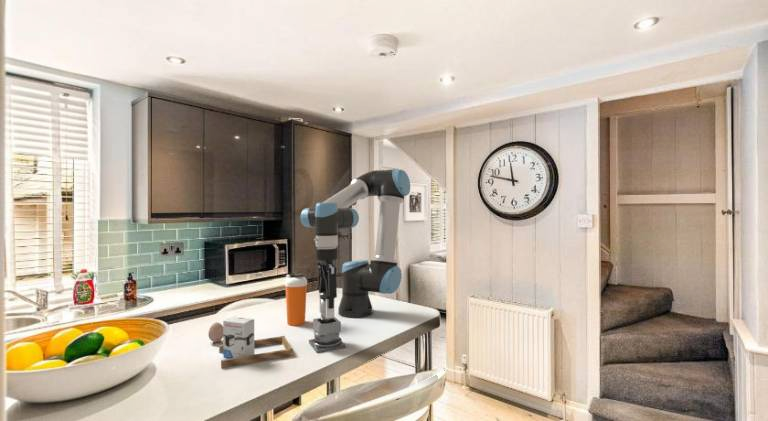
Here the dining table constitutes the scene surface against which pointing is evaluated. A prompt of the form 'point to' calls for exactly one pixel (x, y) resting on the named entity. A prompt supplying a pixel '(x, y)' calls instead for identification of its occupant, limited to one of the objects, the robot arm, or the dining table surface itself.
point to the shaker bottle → (295, 298)
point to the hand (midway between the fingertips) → (326, 314)
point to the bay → (262, 356)
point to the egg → (216, 332)
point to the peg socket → (326, 336)
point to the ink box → (238, 337)
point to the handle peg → (324, 309)
